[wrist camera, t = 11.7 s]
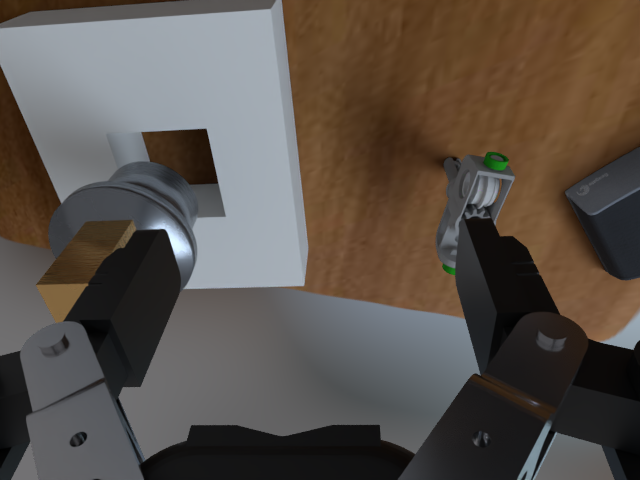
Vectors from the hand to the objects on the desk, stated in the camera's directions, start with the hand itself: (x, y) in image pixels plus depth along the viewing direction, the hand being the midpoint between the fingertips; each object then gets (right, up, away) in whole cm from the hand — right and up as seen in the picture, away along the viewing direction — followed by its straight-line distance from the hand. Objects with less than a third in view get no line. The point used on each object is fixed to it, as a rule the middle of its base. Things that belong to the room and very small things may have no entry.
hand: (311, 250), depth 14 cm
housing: (-12, +9, +31) cm, 35 cm away
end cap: (-12, +4, +24) cm, 27 cm away
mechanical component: (+12, +7, +31) cm, 34 cm away
